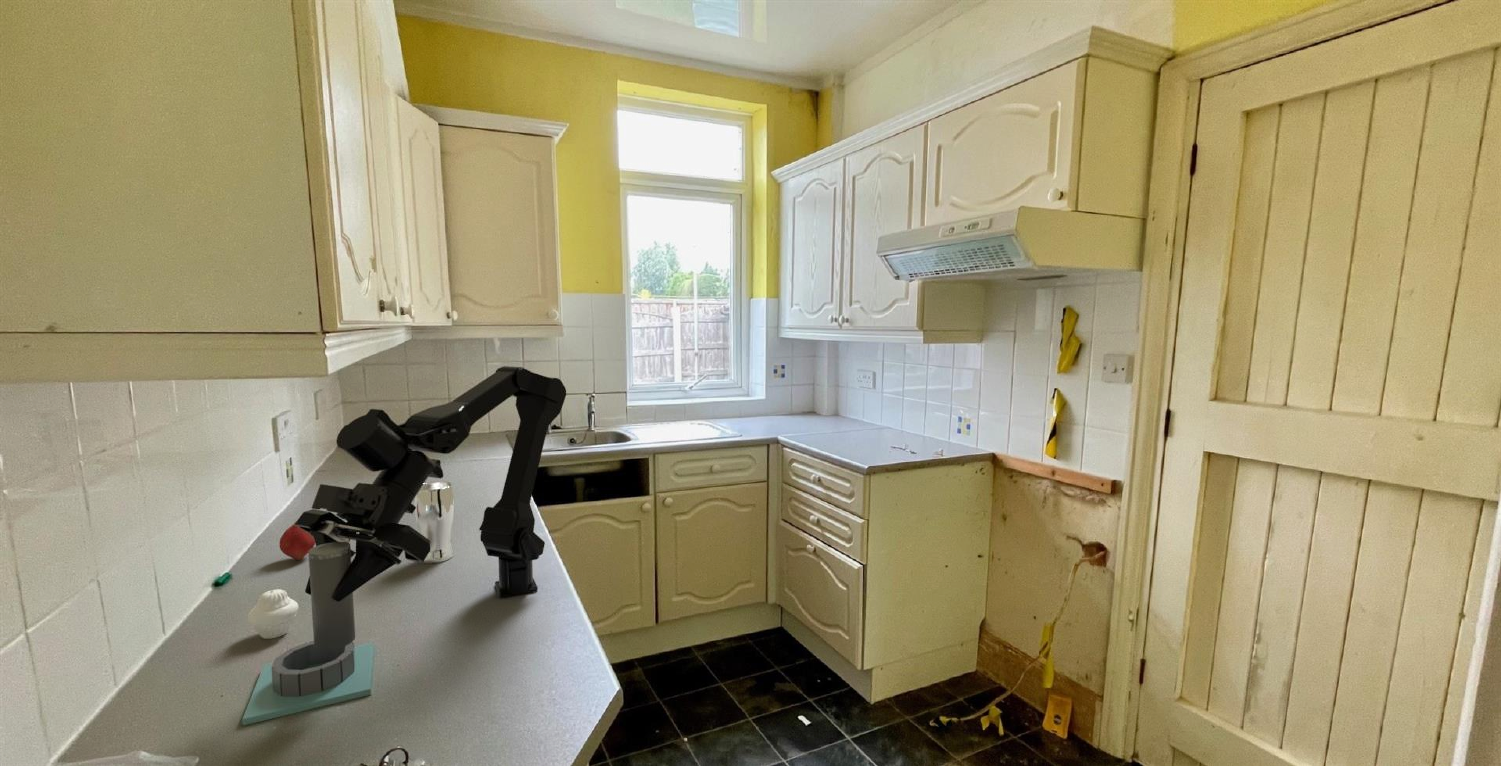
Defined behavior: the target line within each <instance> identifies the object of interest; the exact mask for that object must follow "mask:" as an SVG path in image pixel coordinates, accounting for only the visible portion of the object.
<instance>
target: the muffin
mask: <svg viewBox="0 0 1501 766" xmlns="http://www.w3.org/2000/svg"><path fill="white" fill-rule="evenodd" d="M298 611H299V604H298V602H297V601H296V600H294V599H292V598H291V597H289V596H288V593H287V592H286V591H285V590H283V589H280V588H279V589H271V590H268V591H265V592H264V593H262V594H261V595H260V596H259V597H258V598H257V603H256V604H255V606H254V607H253V608H252V609H251V610H250V611H249V613H248V614H247V621H248V623H250V626H251V627H252V628H253V630H255V631H256V632H257V634H258V635H259V636H260V638H262V639H269V640H271V639H276V638H279V637H281V636H284V635H286V634H287V633H288V632H289V630H290V628H291V626H292V625H293V622H294V621H295V619H296V617H297V613H298Z"/></svg>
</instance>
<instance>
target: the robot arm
mask: <svg viewBox="0 0 1501 766" xmlns="http://www.w3.org/2000/svg"><path fill="white" fill-rule="evenodd" d="M566 396H567V389H566V387H565V385H564V383H563V381H562V380H561V379H560V378H558V377H550V376H545V375H542V374H539V373H535V372H533V371H531V370H528V369H527V368H524V367H523V366H522V367H521V366H508V365H506V366H505V365H503V366H500V367H499V368H497V369H496V370H495V372H494V373H492V374H491V375H490V376H488V377H487V378H485V379H484V380H482V381H480V382H478V384H476V385H474V386H473V387H472V388H469V389H468V390H467V391H465V392H464V393H462V394H461V395H459V396H458V397H456V398H455V399H453V400H452V401H450V402H447V403H444V404H441V405H436V406H432V407H428V408H425V409H424V410H421V411H419V412H416V413H414V414H411V415H410V417H408V418H407V419H406V420H405V421H404V422H403V423H401V424H397V423H396V422H394V420H393V419H391V417H390V416H389V415H388V413H387V412H386V411H384V410H383V409H381V408H380V409H377V408H370V409H369V411H368V412H367V413H366V414H364V415H362V416H358V417H357V418H355V419H354V420H352V421H351V422H349V423H348V424H345V425H344V426H343V427H342V428H341V430H340V431H339V433H338V434H337V437H336V446H337V447H338V448H339V449H341V451H343V452H344V453H346V454H347V455H348V456H350V457H351V458H352V459H353V460H355V462H357V463H358V464H360V465H362V466H363V468H365V469H367V470H368V471H370V472H379V474H378V475H377V476H376V478H374V480H373V482H372V483H366V482H363V483H362V482H358V483H357V484H356V485H355V486H354V487H353V488H348V487H342V486H338V485H337V486H336V485H329V484H325V483H323V484H322V483H320V484H319V486H318V489H317V492H316V495H315V497H314V499H313V503H312V506H311V509H309V510H306V511H303V512H302V513H301V515H300V516H299V518H298V519H297V520H295V522H296V523H295V522H294V523H295V526H297V527H298V528H300V529H302V530H303V531H305V532H307V533H308V534H310V536H312V537H313V538H314V540H315V546H318V545H322V544H326V543H332V542H347V543H349V544H350V541H351V540H352V541H355V551H354V550H353V549H351V558H352V557H353V559H352V560H351V564H350V566H349V567H348V569H347V571H346V572H345V574H344V576H343V577H342V579H341V581H340V582H339V584H338V586H337V588H336V590H335V592H334V594H333V596H332V599H333V600H335V601H338V602H339V601H341V600H342V599H344V598H345V597H347V596H348V595H350V594H351V593H352V592H353V593H354V592H355V591H357V590H358V589H360V588H361V587H363V586H364V585H365V584H367V583H368V582H369V581H371V580H372V579H374V578H375V577H377V576H379V575H380V574H382V573H383V572H385V571H386V570H388V569H390V568H392V567H393V566H394V565H401V563H402V562H403V560H401V559H400V556H401V555H402V554H403V552H404V558H405V559H406V560H408V561H412V562H416V563H421V564H424V563H423V562H424V560H425V558H426V557H427V555H428V553H429V552H430V540H428V539H427V538H426V537H424V536H423V535H422V534H420V533H419V531H417V530H416V529H415V528H414V527H412V526H411V525H410V524H409V525H408V524H402V523H400V521H401V520H402V518H403V517H404V515H405V514H411V515H412V514H414V513H415V509H416V507H415V504H412V503H413V502H414V501H415V497H416V495H417V494H418V492H419V491H420V489H421V488H422V486H423V484H424V483H426V481H427V480H428V478H435V479H443V478H444V471H443V469H442V466H441V462H442V461H441V459H433V458H430V457H429V456H428V455H426V454H425V453H424V452H426V453H434V454H441V455H442V454H443V455H444V454H445V455H447V454H450V453H451V454H452V453H453V452H454V451H456V449H458V448H459V447H460V446H461V444H462V443H464V441H465V440H466V439H467V438H468V437H469V436H470V432H471V429H472V427H473V426H474V424H475V423H476V422H478V421H479V420H481V419H482V418H483V417H485V416H486V415H487V414H489V413H490V412H491V411H492V412H493V410H494V409H496V408H497V407H499V405H501V404H503V403H504V402H505V401H506V400H508V399H509V398H511V397H515V398H516V400H515V408H516V410H517V414H518V417H519V420H520V421H519V424H518V429H517V432H516V433H517V434H516V438H515V442H514V446H513V449H512V453H511V457H510V461H509V466H508V469H507V473H506V477H505V481H504V485H503V488H502V492H501V493H502V494H501V497H500V499H499V500H498V501H497V502H496V504H495V505H494V506H493V507H492V506H487V507H486V508H485V510H484V511H483V512H484V513H483V518H482V522H481V525H480V526H479V529H478V530H479V531H480V536H479V537H480V542H482V544H483V547H484V549H485V552H486V554H487V557H488V556H489V557H496V558H498V580H496V581H495V582H494V587H495V589H496V592H497V595H498V597H499V598H506V597H512V596H518V595H522V594H526V593H527V594H528V593H532V592H537V591H538V589H539V588H538V585H537V583H536V581H535V579H534V577H533V575H534V573H533V572H534V571H533V570H534V569H533V566H534V565H533V561H536V560H538V559H540V556H541V555H543V553H544V549H545V545H546V544H545V541H544V540H543V539H542V537H540V536H539V535H538V534H536V533H535V532H534V530H535V522H536V518H535V516H534V512H533V509H532V506H531V501H532V495H533V492H534V486H535V482H536V478H537V475H538V471H539V470H538V469H539V466H540V463H541V458H542V453H543V449H544V444H545V440H546V436H547V432H548V428H549V426H550V425H551V424H552V422H553V421H554V420H555V419H556V418H557V417H558V416H559V415H560V414H561V411H562V408H563V405H564V404H565V400H566ZM320 509H324V510H320ZM334 513H335V514H334ZM354 555H355V556H354ZM304 589H305V590H304V592H305V593H306V594H307V595H309V596H311V586H310V575H309V577H308V579H307V584H306V586H305V588H304Z"/></svg>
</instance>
